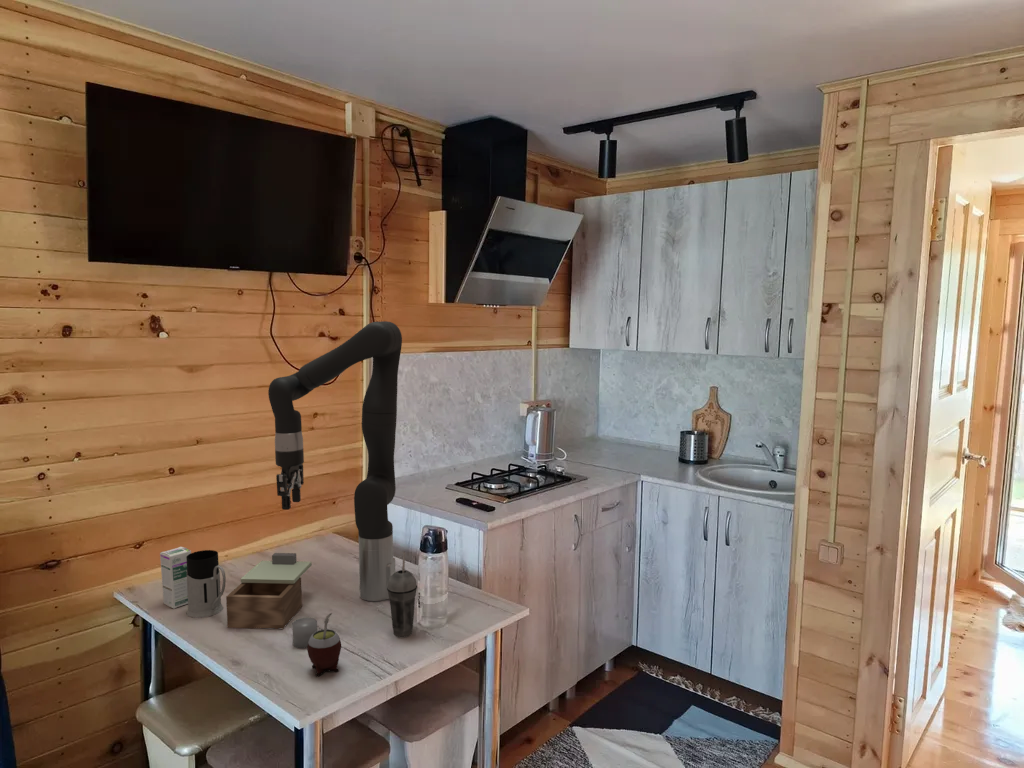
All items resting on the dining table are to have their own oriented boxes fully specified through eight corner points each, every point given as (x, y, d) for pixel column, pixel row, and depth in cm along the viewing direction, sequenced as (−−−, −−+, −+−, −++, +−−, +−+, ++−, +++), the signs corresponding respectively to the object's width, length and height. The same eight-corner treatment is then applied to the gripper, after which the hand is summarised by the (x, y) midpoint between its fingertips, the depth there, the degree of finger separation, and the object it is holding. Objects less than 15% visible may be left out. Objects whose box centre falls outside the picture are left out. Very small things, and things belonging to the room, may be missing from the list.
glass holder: (211, 600, 184) (208, 546, 183) (242, 614, 176) (239, 557, 175) (179, 612, 177) (176, 556, 176) (210, 626, 169) (207, 568, 167)
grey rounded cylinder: (321, 637, 163) (320, 617, 163) (312, 649, 158) (312, 628, 157) (298, 637, 164) (297, 617, 163) (289, 648, 158) (288, 627, 158)
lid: (311, 565, 188) (311, 552, 187) (293, 583, 175) (293, 570, 174) (261, 564, 188) (261, 551, 188) (240, 582, 175) (240, 569, 175)
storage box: (302, 606, 180) (301, 577, 180) (282, 629, 168) (281, 597, 167) (250, 605, 181) (249, 576, 180) (227, 627, 168) (226, 596, 168)
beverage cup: (381, 637, 163) (380, 556, 161) (398, 624, 170) (396, 546, 168) (408, 642, 161) (406, 560, 159) (423, 629, 167) (422, 550, 165)
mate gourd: (320, 659, 153) (317, 595, 151) (351, 664, 151) (349, 599, 149) (300, 676, 146) (298, 609, 144) (333, 681, 144) (330, 613, 142)
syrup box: (173, 609, 179) (170, 556, 177) (162, 603, 182) (159, 551, 181) (194, 602, 183) (191, 550, 182) (183, 596, 187) (180, 545, 185)
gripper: (292, 452, 182) (295, 513, 184) (311, 442, 197) (313, 498, 198) (265, 452, 183) (268, 512, 184) (285, 442, 197) (288, 498, 199)
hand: (291, 505), depth 191 cm, fingers open, 7 cm apart
